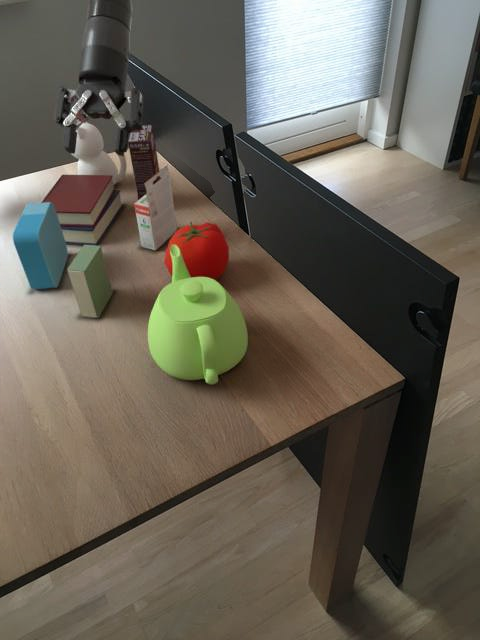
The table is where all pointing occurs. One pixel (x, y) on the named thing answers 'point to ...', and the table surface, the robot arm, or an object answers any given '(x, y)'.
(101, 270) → the green rectangular block
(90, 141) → the cat figurine
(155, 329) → the teapot
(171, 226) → the ink box
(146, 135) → the supplement box
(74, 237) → the book stack
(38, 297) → the table surface
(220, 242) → the tomato
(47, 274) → the blue rounded block
